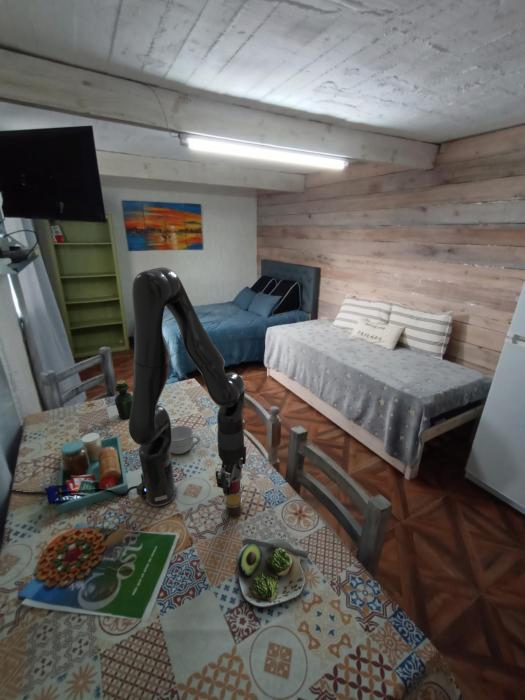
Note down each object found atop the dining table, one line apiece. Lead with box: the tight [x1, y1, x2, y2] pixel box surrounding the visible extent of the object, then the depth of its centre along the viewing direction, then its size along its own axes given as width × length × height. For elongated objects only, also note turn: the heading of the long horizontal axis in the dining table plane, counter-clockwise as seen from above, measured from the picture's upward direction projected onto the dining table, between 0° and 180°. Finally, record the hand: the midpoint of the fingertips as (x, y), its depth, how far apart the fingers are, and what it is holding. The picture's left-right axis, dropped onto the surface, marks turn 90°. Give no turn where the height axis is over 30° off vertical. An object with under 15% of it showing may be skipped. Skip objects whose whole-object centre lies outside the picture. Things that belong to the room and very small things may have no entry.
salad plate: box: [235, 537, 309, 609], centre depth 82 cm, size 19×18×5 cm
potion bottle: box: [114, 379, 133, 420], centre depth 147 cm, size 8×8×18 cm
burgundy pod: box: [225, 468, 243, 493], centre depth 95 cm, size 6×6×5 cm
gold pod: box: [225, 483, 243, 505], centre depth 97 cm, size 6×6×5 cm
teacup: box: [170, 425, 201, 455], centre depth 126 cm, size 14×11×8 cm
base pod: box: [223, 495, 243, 518], centre depth 99 cm, size 6×6×5 cm
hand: (232, 485), depth 96 cm, fingers open, 6 cm apart
